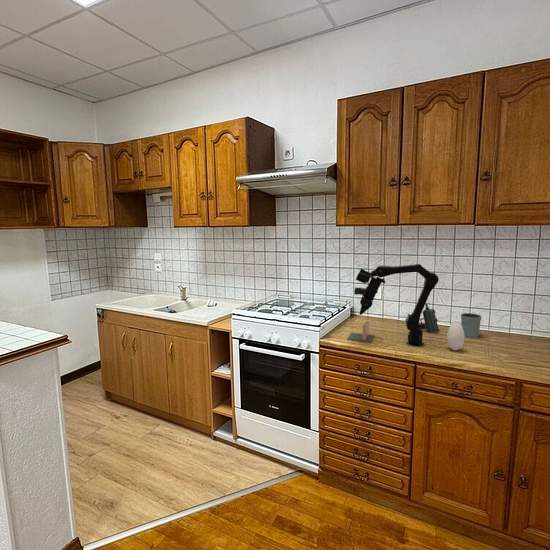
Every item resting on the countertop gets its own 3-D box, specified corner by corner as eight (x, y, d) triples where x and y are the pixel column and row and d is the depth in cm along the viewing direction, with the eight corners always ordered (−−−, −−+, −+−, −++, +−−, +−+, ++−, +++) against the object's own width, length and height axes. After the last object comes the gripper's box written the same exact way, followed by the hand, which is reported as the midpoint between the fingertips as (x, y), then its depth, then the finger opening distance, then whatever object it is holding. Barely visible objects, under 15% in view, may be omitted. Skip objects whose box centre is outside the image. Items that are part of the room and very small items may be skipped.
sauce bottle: (462, 353, 170) (464, 317, 168) (445, 350, 175) (446, 315, 172) (464, 349, 177) (466, 314, 174) (447, 346, 181) (449, 312, 179)
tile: (368, 335, 199) (369, 321, 198) (366, 340, 190) (366, 326, 189) (365, 334, 200) (365, 321, 199) (362, 339, 191) (362, 325, 190)
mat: (374, 336, 199) (374, 335, 199) (371, 342, 188) (371, 341, 188) (351, 333, 204) (351, 332, 204) (347, 339, 193) (347, 338, 193)
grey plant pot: (478, 334, 200) (479, 313, 199) (481, 339, 191) (483, 318, 190) (458, 332, 204) (459, 312, 203) (460, 337, 195) (462, 316, 193)
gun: (408, 305, 213) (433, 302, 204) (414, 332, 212) (440, 330, 203) (406, 306, 211) (432, 303, 202) (413, 333, 210) (439, 331, 201)
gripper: (360, 278, 199) (349, 302, 202) (357, 283, 181) (345, 310, 185) (378, 287, 196) (367, 311, 200) (377, 293, 178) (364, 319, 182)
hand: (360, 312), depth 192 cm, fingers open, 9 cm apart
